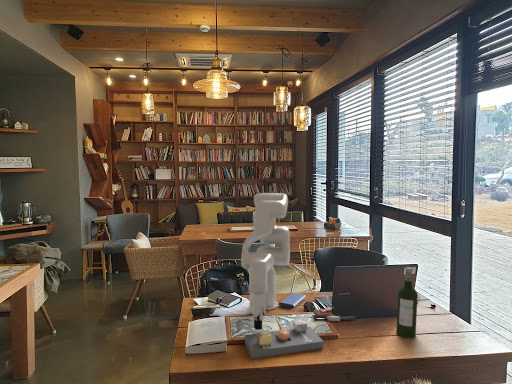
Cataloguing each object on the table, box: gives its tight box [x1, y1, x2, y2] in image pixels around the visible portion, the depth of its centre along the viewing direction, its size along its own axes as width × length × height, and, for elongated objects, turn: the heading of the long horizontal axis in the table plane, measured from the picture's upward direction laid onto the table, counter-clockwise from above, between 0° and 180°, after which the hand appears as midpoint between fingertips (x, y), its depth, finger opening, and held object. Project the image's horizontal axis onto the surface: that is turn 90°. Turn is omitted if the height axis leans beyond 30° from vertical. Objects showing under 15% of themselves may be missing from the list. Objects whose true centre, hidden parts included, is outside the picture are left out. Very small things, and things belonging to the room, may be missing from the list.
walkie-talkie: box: [312, 307, 356, 322], centre depth 169 cm, size 9×4×20 cm
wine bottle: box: [396, 266, 419, 339], centre depth 152 cm, size 8×8×30 cm
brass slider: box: [256, 330, 272, 346], centre depth 138 cm, size 4×5×4 cm
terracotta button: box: [277, 328, 289, 342], centre depth 143 cm, size 5×5×3 cm
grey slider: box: [292, 318, 308, 333], centre depth 149 cm, size 4×5×4 cm
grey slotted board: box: [243, 326, 324, 360], centre depth 143 cm, size 13×30×3 cm, turn 105°
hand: (258, 328), depth 147 cm, fingers closed
